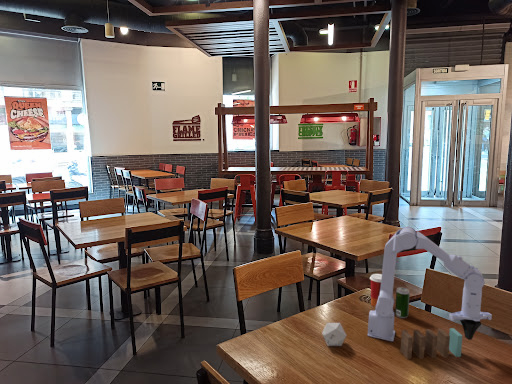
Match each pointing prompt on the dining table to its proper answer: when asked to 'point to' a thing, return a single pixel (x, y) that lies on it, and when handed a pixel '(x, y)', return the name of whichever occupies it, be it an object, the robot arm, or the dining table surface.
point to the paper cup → (375, 288)
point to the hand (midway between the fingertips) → (468, 338)
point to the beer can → (402, 302)
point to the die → (334, 334)
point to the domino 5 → (455, 342)
